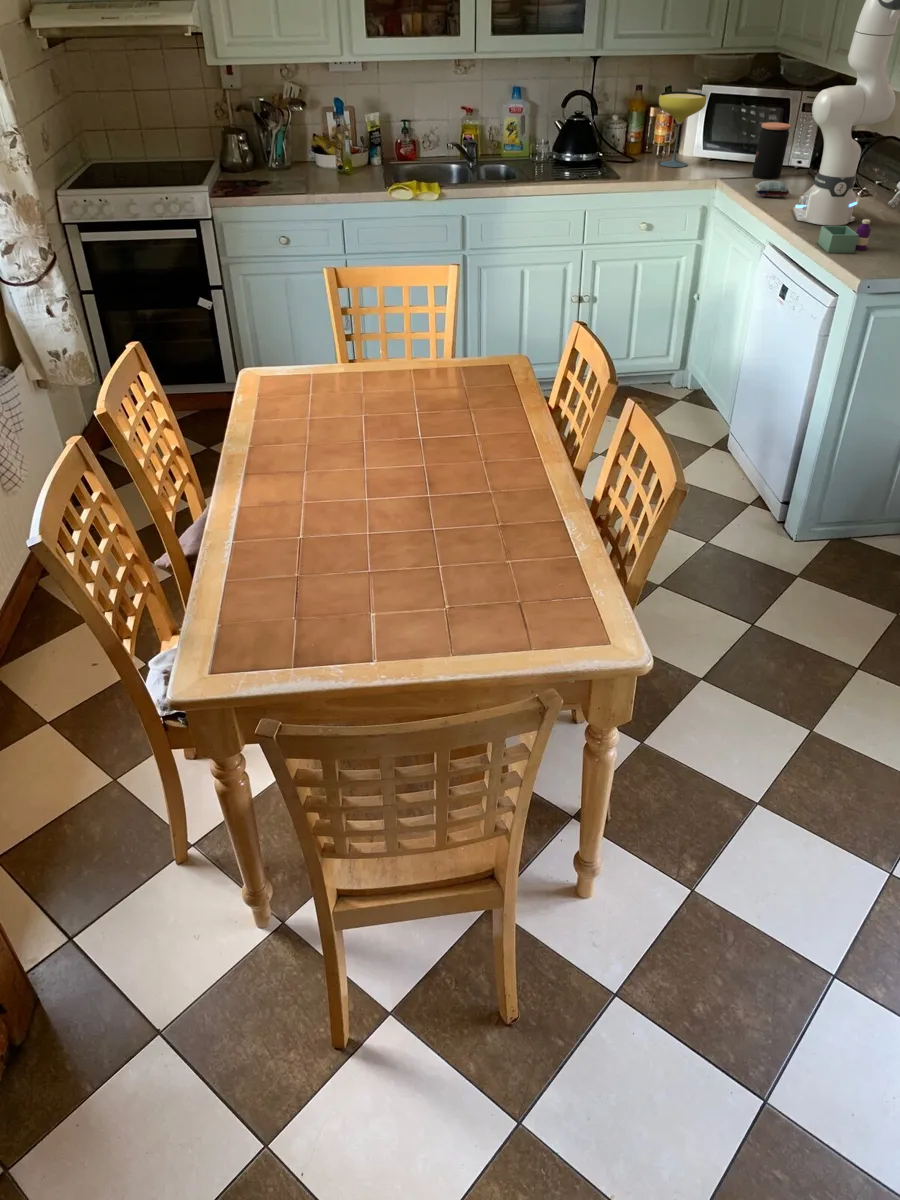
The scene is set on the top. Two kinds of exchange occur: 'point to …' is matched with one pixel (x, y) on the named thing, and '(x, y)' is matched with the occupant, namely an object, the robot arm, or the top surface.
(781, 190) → the packaged food
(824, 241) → the bin
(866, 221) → the grape juice bottle
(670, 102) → the cocktail glass
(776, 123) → the coffee jar
